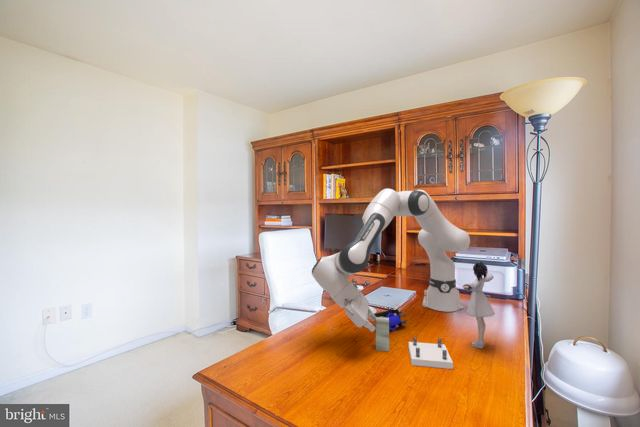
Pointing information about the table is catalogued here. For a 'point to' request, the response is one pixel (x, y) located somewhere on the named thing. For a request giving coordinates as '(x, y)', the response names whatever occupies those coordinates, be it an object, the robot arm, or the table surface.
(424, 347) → the display base
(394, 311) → the character figurine
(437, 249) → the robot arm
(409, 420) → the table surface
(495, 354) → the table surface
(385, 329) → the sage block
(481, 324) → the figurine
